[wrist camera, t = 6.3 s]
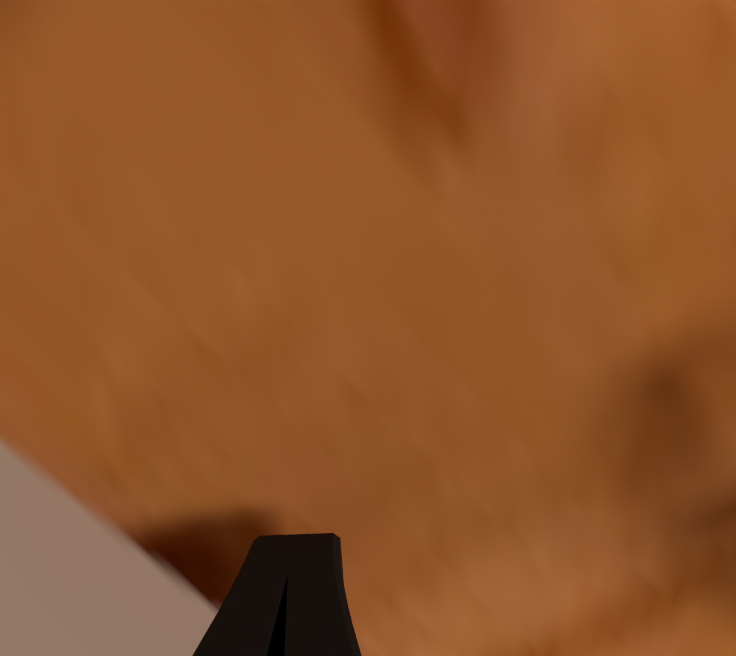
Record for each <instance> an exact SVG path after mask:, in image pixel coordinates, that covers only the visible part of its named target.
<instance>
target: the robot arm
mask: <svg viewBox="0 0 736 656" xmlns="http://www.w3.org/2000/svg"><path fill="white" fill-rule="evenodd" d="M193 656H361V652H360V649H359V645H358V642H357V638H356V635H355V631H354V628H353V624H352V620H351V616H350V612H349V608H348V603H347V599H346V594H345V589H344V581H343V568H342V555H341V542H340V538H339V537H338V536H336V535H335V534H334V533H322V534H295V535H268V536H259V537H258V538H257V539H256V540H254V541H253V544H252V546H251V548H250V550H249V553H248V555H247V557H246V559H245V561H244V563H243V565H242V567H241V569H240V571H239V573H238V575H237V577H236V579H235V581H234V583H233V585H232V587H231V589H230V591H229V593H228V595H227V596H226V598H225V600H224V602H223V604H222V606H221V608H220V609H219V611H218V613H217V615H216V616H215V618H214V620H213V622H212V623H211V625H210V627H209V628H208V630H207V632H206V633H205V635H204V637H203V639H202V640H201V642H200V644H199V646H198V647H197V649H196V651H195V653H194V654H193Z"/></svg>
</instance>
